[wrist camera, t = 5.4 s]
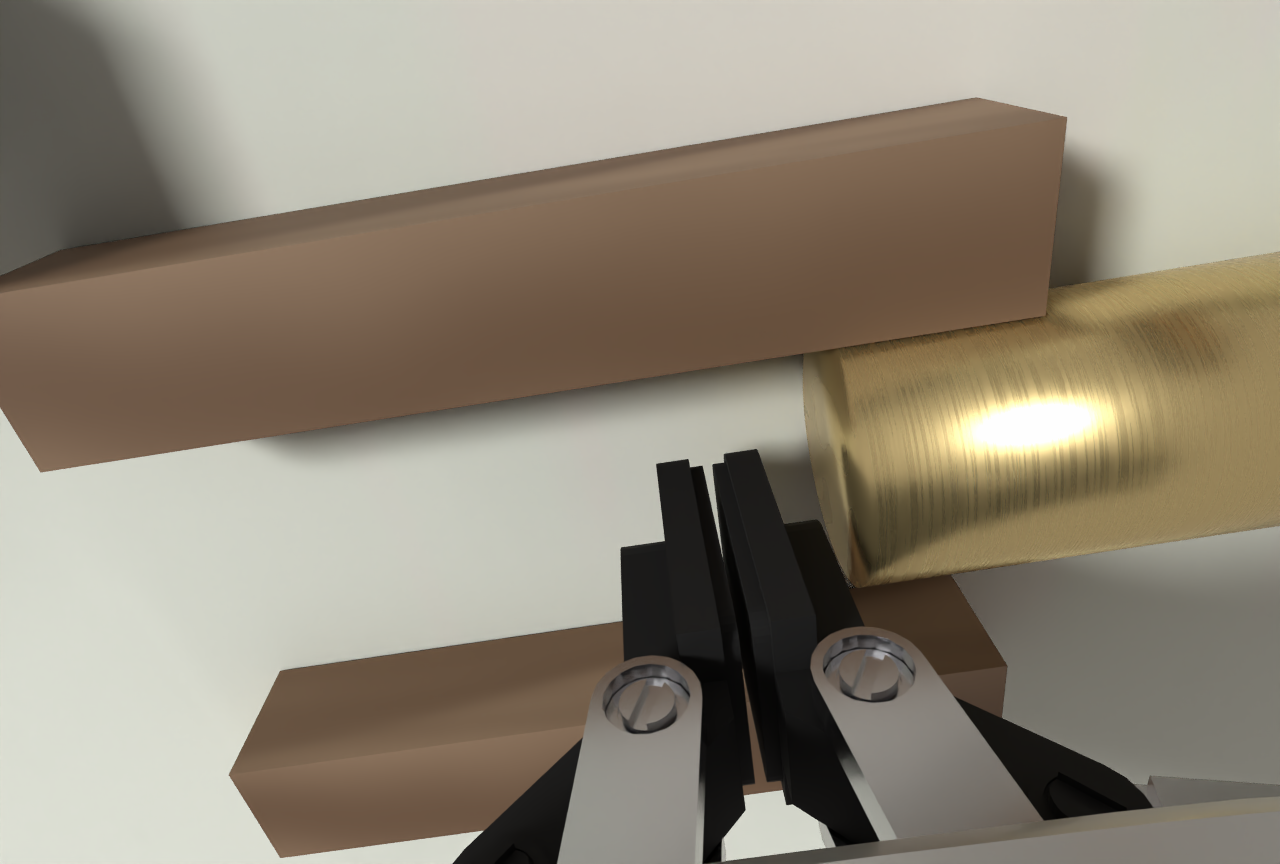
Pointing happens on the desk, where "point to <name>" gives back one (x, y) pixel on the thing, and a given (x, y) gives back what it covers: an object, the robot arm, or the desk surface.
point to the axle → (1055, 427)
